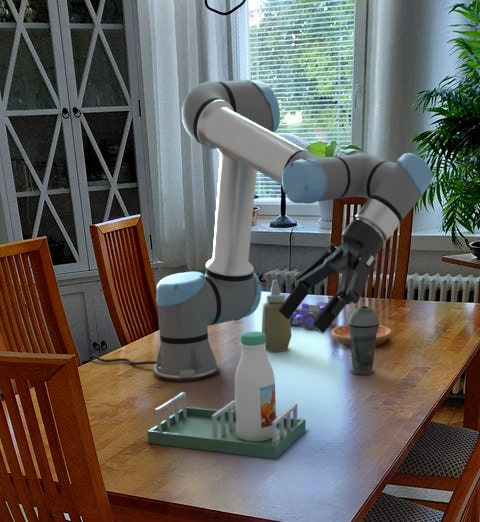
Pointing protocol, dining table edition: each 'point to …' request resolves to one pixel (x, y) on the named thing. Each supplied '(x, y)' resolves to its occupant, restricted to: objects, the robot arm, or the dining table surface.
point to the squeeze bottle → (275, 321)
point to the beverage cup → (363, 338)
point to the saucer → (344, 338)
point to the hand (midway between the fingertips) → (299, 321)
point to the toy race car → (307, 315)
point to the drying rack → (221, 430)
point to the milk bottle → (254, 390)
